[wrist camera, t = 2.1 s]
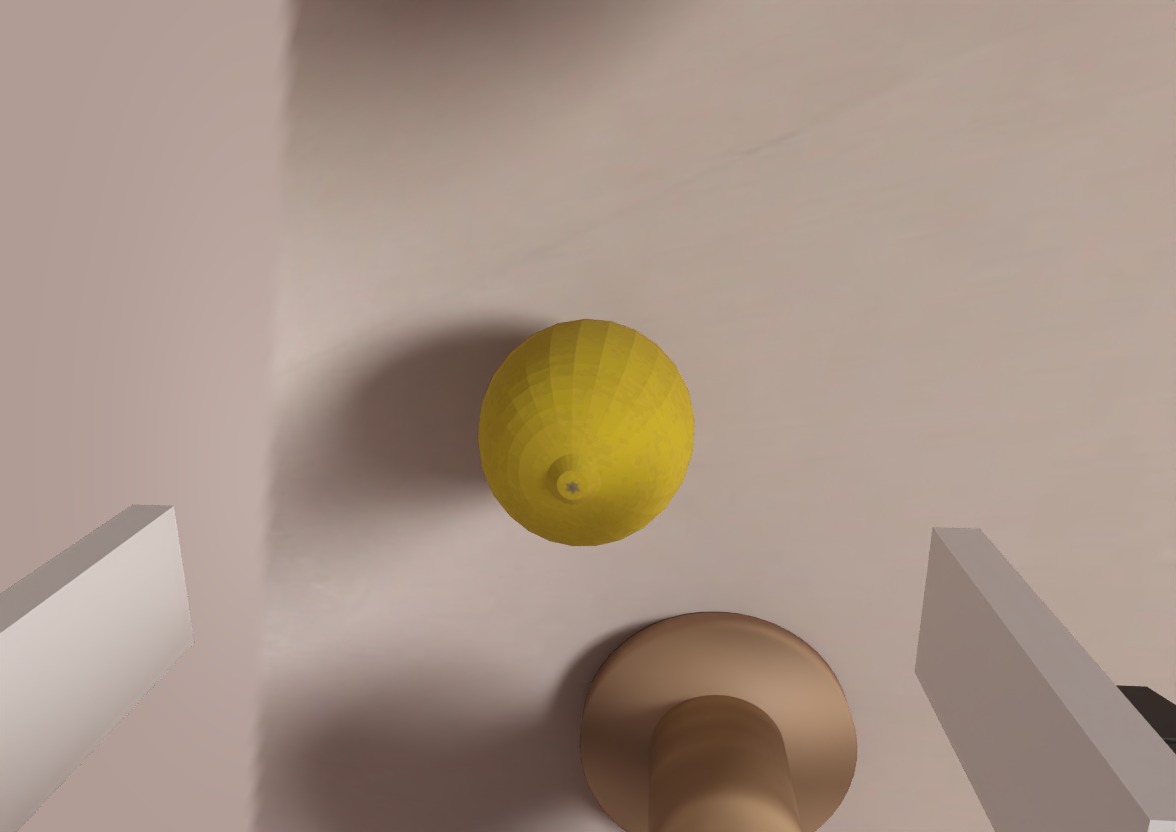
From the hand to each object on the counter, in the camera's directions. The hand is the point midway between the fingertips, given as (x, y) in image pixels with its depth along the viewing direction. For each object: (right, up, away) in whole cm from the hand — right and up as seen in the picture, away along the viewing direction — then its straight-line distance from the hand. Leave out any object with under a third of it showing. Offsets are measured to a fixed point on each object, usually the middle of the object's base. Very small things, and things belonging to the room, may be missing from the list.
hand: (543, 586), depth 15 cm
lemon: (+1, +4, +11) cm, 12 cm away
